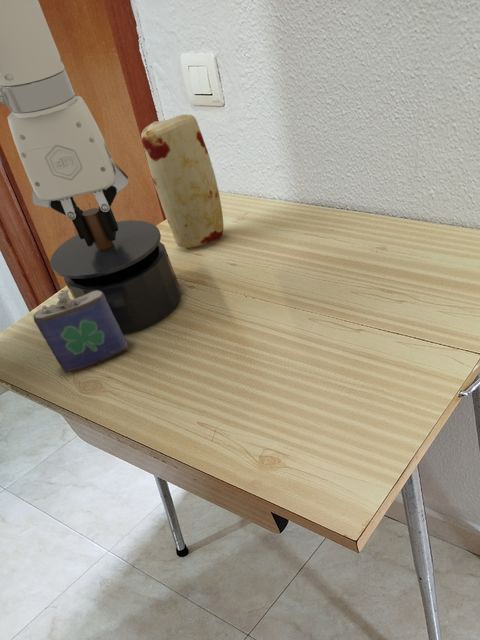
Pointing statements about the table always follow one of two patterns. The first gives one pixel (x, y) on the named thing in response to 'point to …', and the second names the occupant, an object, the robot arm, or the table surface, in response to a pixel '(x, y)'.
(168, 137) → the food model
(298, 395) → the table surface
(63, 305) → the flask
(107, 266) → the pan lid
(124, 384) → the table surface
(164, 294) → the pan
